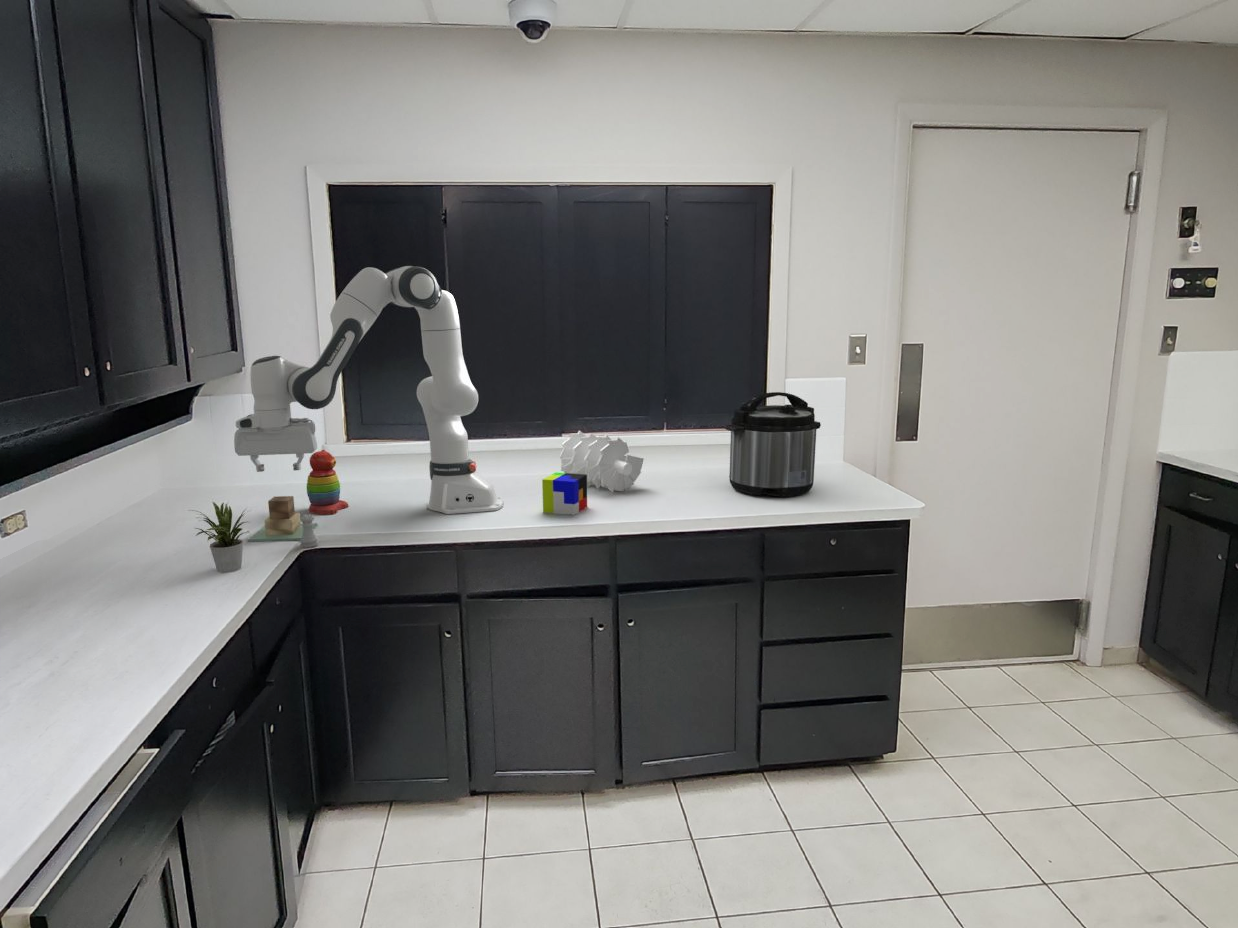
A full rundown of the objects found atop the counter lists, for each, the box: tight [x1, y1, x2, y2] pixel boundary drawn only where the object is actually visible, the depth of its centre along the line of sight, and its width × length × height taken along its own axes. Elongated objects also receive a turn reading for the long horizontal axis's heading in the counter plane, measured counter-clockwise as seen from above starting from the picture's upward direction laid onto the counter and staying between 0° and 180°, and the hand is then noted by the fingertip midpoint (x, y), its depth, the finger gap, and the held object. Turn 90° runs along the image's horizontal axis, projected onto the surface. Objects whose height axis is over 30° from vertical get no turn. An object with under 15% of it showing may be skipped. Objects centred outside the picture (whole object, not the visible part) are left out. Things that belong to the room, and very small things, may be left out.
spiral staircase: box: [558, 430, 645, 493], centre depth 268 cm, size 18×18×25 cm
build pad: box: [247, 522, 319, 543], centre depth 220 cm, size 14×14×1 cm
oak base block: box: [264, 512, 302, 535], centre depth 219 cm, size 7×7×4 cm
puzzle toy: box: [541, 471, 588, 516], centre depth 242 cm, size 10×10×10 cm
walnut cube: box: [267, 495, 296, 519], centre depth 218 cm, size 5×5×5 cm
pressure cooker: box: [724, 391, 822, 497], centre depth 264 cm, size 30×28×32 cm
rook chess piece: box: [299, 513, 319, 549], centre depth 208 cm, size 4×4×8 cm
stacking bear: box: [306, 449, 349, 516], centre depth 242 cm, size 11×10×18 cm
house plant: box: [187, 501, 252, 573], centre depth 191 cm, size 14×14×16 cm
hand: (279, 470), depth 217 cm, fingers open, 8 cm apart
